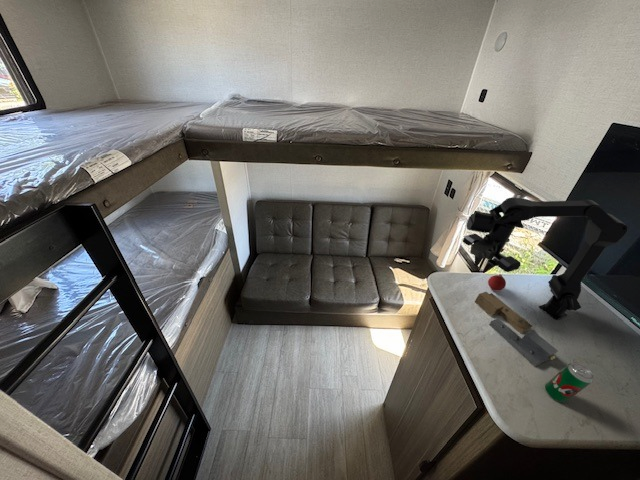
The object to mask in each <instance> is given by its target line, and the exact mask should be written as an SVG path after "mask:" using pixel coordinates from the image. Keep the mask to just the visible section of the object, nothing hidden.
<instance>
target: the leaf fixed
mask: <svg viewBox="0 0 640 480" xmlns="http://www.w3.org/2000/svg"><path fill="white" fill-rule="evenodd" d="M488 325H489V326H490V327H491V328H492V329H493V330H494V331H495V332H497V334H498V335H499V336H501V337H502V338H503V339H504V340H505V341H506V342H507V343H508V344H509V345H510V346H511V347H512V348H513V349H515V350H516V351H517V352H518V353H519V354H521V356H522V357H524V359H525V360H527V362H529V363H530V364H531V365H532V366H533V367H537V366H539V365H541V364H543V363H546V362H547V361H549V360H551V361H553V360H554V359H556V356H555V355H556V354H557V353H558V352H559V350H558V349H556V348H555V347H554V346H553V345H551V343H549V342H548V341H547V340H546V339H544V338H543V337H542V336H540V335H539V333H537V332H535V331H534V330H532V331H529V332H526V333H525V335H523V336H522V337H520V336H519V335H518V334H517V333H516V332H515V331H514V330H513V329H511V327H509V326H508V325H507V324H506V323H504V321H503V320H501V319H500V318H496V319H493V320H491V321H490V322H489V324H488Z"/></svg>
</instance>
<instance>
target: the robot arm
mask: <svg viewBox="0 0 640 480" xmlns="http://www.w3.org/2000/svg"><path fill="white" fill-rule="evenodd" d="M488 212H489V213H487V212H483V211H480V210H474V211H473V213H472V214H470V215H469V217H468V219H467V222H466V229H467V231H471V232H472V231H473V232H478V233H483V234H484V233H485V235H484V237H482V236H480V235H478V234H477V233H473V234H467V235H465V236H464V238H463V240H462V243H464V244H465V245H467V246H470V251H469V252H470V254H472V255H473V256H474V267H475V268H476V267H479V265H480V263H481V262H482V260H484V259H487V262H488V263H487V264H486V265H485V268H484V269H483V271H482V273H483V274H486V273H487V272H489V271H490V270H491V269H493V268H495V267H498V268H500V269H501V270H502V271H504V272H506V273H510V272H513V271H515V270H516V271H517V270H519V269H520V268H521V266H522V264H521V261H519V260H518V259H516V258H515V257H513V256H511V255H509V256H506V255H504V254H502V252H504V250H505V249H504V247H505V245H506V244H507V243H509V242H510V240H511V239H510V236H511V235H512V234H513V231H514V230H515V228H519V229H524V228H525V226H524V225H523V223H522V222H524V221H529V220H530V219H531V220H532V219H534V218H538V217H539V218H540V217H541V218H542V217H543V218H548V217H550V218H551V217H553V218H554V217H555V218H557V217H560V218H561V217H566V218H567V217H571V218H572V217H585V218H586V219H587V220H588V222H587V225H586V226H585V227H586V228H585V235H584V236H585V237H584V238H585V239H584V241H583V242H582V244H581V246H579V249H578V250H577V252H576V254H575V255H574V257H573V258H572V259H571V261H570V263H569V265H567V267H566V269H565V270H564V272H563V273H562V274H559V275H556V274H552V276H551V279H550V280H549V281H548V282H547V283H548V286H549V288H550V289H549V290H550V292H551V294H552V296H551V297H550V298H549V300H547V302H546V303H544V304H542V305H539V307H538V308H539V309H540V310H542V311H543V312H544V313H546V314H547V315H549V316H550V317H551V318H552V319H554V320H556V321H558V320H561V319H563V318H566V317H567V316H568V314H567V312H568V311H577V310H580V309H581V308H582V306H581V304H580V302H579V301H578V299H579V297H580V295H581V292H582V282H583V280H584V279H585V277H586V276H587V275H588V273H589V272H590V270H591V269H592V267H593V266H594V264H595V263H596V262H597V260H598V259H599V258H600V257H601V255H602V253H603V252H604V251H605V250H606V248H608V247H610V246H612V245H615V244H617V243H618V242H620V240H621V239H622V238H624V236H626V234H627V233H628V231H629V228H628V227H627V224H625V223H624V222H622V221H621V220H620V219H619V218H617V217H615V216H614V215H613V214H611V213H607V212H606V211H604V209H602V206H601V205H600V204H598V203H597V202H595V201H594V200H592V199H582V200H550V201H548V200H546V201H545V200H544V201H536V200H531V199H526V198H523V197H522V198H521V197H508V198H506V199H505V200H503V201H502V203H500V204H499V205H497V206H495V207H493V208H491V209H490V210H489V211H488ZM501 213H502V215H501ZM487 233H488V234H487Z"/></svg>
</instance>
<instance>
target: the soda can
mask: <svg viewBox="0 0 640 480" xmlns="http://www.w3.org/2000/svg"><path fill="white" fill-rule="evenodd" d="M594 378H595V377H594V374H593V372H592V371H591V370H590V369H589V368H588V367H586V366H585V365H584V364H582V363H579V362H573V363H568V364H567V365H566V366H565V367H563V368H562V369H561V370H559V372H558V373H557V374H556V375H554V376H553V377H552V378H551V379H550V380H548V381H547V382H546V383H545V385H544V389H545V392H546V393H547V395H549V397H551V398H552V399H553V400H555V401H557V402H560V403H566V402H567V401H569V400H570V399H572V398H573V397H575V396H576V395H577V394H578V393H580V392H581V391H582V390H584V389H586V387H589V386H590V384H592V383H593V381H594Z"/></svg>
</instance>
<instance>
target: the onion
mask: <svg viewBox="0 0 640 480" xmlns="http://www.w3.org/2000/svg"><path fill="white" fill-rule="evenodd" d="M487 284H488V286H489V288H490V289H491V291H497V292H498V291H501V290H504V289H505V288H506V286H507V285H506V284H507V281H506V279H505V278H504V277H503V275H502V274H501V273H500V274H499V275H498V274H495V275H492V276H490V277H489V278H488V280H487Z"/></svg>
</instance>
